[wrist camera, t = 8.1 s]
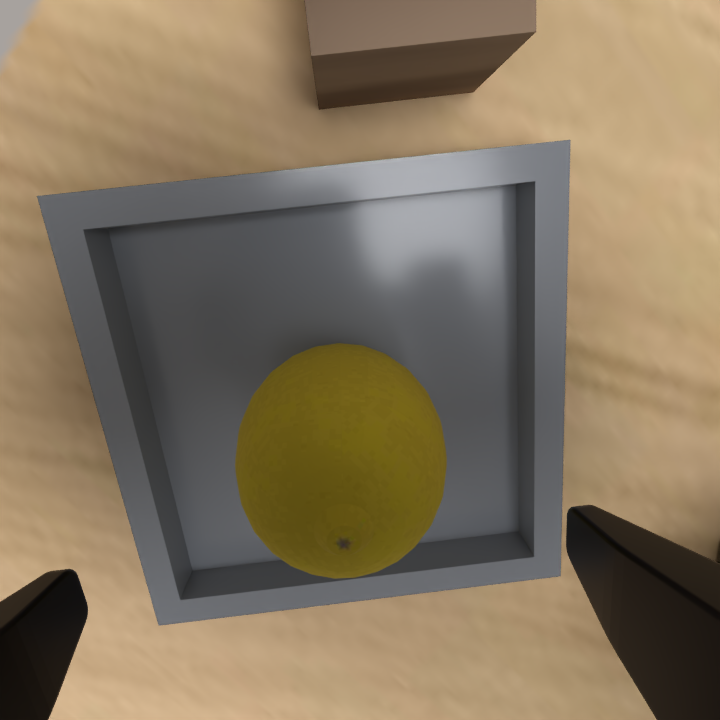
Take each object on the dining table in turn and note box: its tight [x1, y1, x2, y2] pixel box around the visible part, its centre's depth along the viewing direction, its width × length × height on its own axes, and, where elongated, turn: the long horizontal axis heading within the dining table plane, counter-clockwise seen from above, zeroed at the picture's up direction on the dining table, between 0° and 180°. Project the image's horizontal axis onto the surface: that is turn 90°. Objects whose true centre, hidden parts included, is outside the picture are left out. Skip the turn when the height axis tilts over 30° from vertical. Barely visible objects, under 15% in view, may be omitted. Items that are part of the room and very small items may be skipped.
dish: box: [37, 140, 570, 625], centre depth 16 cm, size 15×15×2 cm
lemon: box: [235, 343, 447, 579], centre depth 13 cm, size 6×6×8 cm
